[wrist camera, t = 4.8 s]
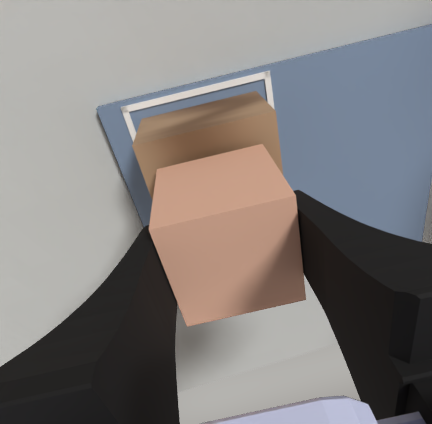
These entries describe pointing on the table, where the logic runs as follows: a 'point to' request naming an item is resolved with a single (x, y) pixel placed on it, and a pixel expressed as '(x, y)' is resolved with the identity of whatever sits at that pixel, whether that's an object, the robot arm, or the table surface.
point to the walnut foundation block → (206, 133)
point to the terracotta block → (227, 235)
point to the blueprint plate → (324, 126)
